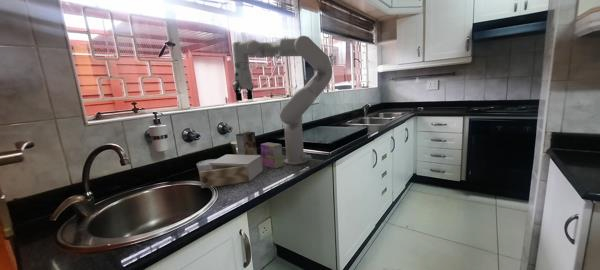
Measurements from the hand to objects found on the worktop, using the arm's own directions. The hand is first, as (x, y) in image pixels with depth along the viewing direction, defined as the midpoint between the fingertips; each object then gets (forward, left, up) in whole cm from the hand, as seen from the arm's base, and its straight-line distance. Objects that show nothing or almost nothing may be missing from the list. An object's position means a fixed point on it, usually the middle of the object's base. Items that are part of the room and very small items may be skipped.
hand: (244, 100), depth 135 cm
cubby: (-3, +19, -35) cm, 40 cm away
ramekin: (+15, +17, -35) cm, 42 cm away
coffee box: (+4, -4, -35) cm, 36 cm away
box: (-15, +4, -35) cm, 38 cm away
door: (-5, +32, -34) cm, 47 cm away
